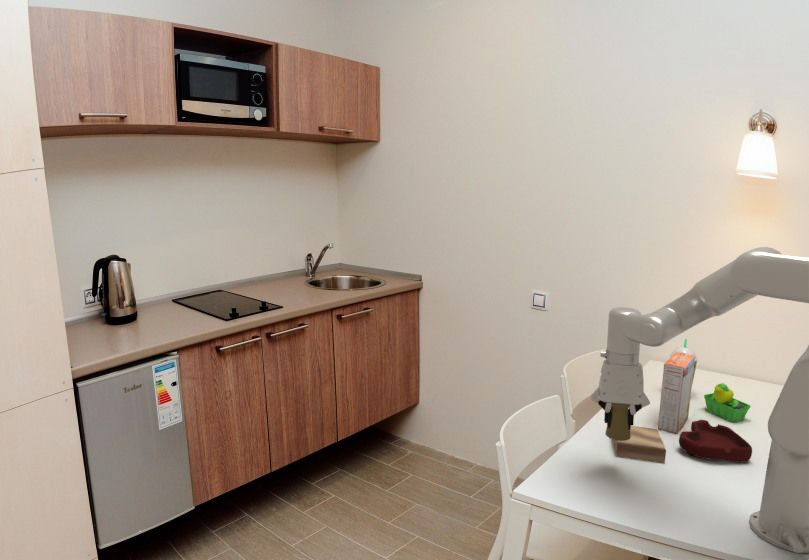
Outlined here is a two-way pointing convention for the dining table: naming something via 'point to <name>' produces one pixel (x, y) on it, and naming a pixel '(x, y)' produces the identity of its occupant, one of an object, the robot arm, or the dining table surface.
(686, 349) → the smoothie
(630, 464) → the dining table surface
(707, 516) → the dining table surface
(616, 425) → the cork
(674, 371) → the cracker box
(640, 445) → the walnut stand
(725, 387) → the fruit basket
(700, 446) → the ashtray
